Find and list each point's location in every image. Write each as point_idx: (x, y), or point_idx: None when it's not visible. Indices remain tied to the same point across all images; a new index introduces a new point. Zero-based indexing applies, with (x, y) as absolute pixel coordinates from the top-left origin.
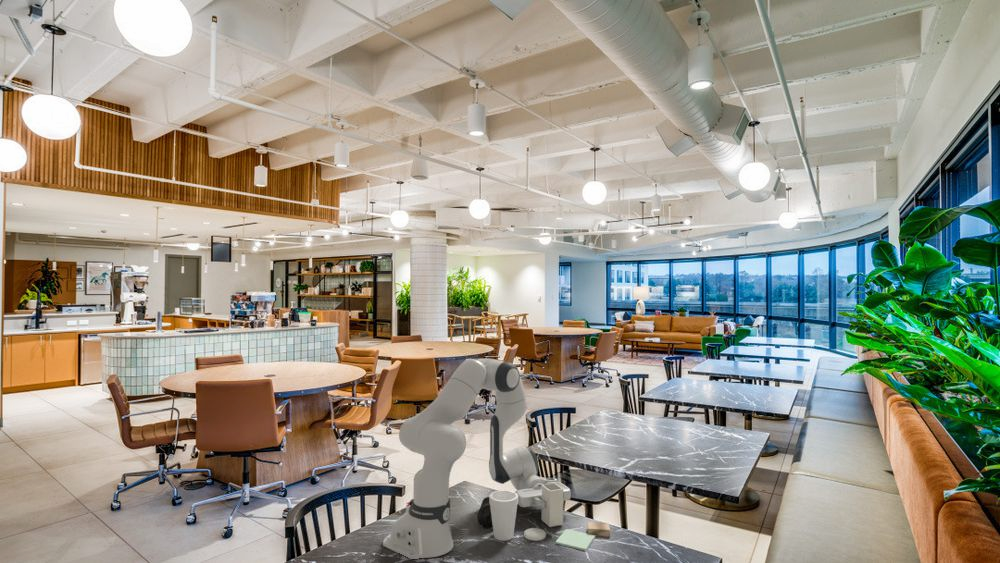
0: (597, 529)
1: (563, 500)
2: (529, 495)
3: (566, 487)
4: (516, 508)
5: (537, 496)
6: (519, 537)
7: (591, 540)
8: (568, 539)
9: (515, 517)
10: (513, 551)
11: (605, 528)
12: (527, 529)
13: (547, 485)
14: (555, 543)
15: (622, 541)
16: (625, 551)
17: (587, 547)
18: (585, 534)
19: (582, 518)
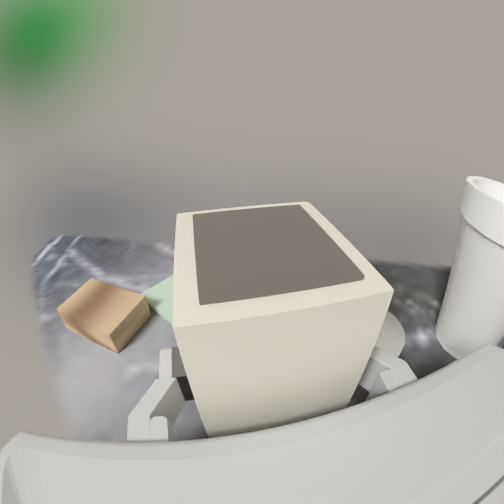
0: (120, 289)
1: (163, 349)
2: (464, 369)
3: (6, 476)
4: (462, 236)
5: (396, 390)
6: (414, 328)
7: (170, 277)
8: None
9: (454, 276)
10: (412, 272)
11: (94, 286)
12: (395, 354)
13: (318, 261)
14: None
15: (91, 274)
16: (124, 247)
17: None
18: (164, 304)
19: (77, 433)
